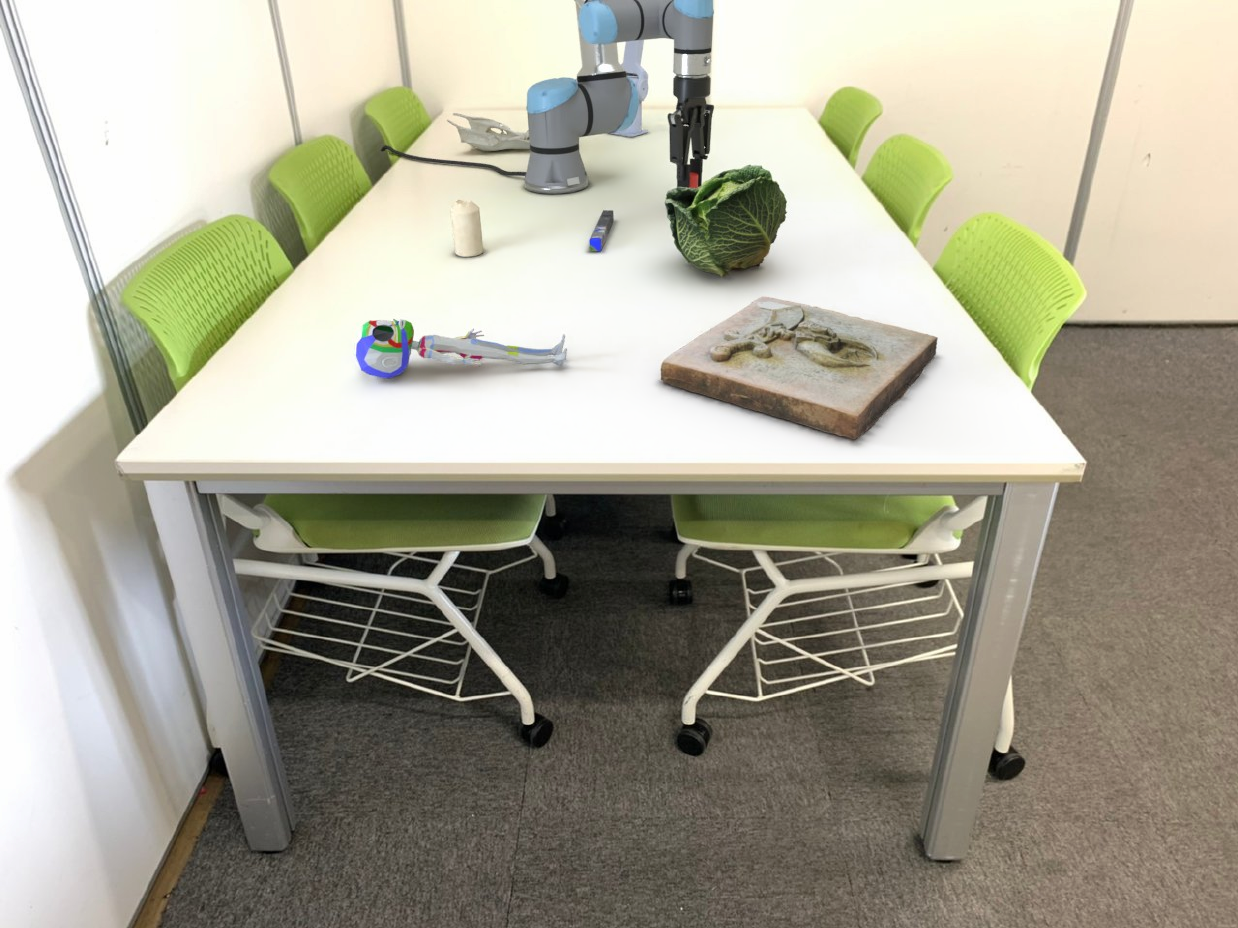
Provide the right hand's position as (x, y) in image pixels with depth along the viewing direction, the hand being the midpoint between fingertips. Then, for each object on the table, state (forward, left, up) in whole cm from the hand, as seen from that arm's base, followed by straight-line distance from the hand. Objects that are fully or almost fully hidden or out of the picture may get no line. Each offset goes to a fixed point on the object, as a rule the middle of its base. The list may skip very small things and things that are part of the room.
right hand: (596, 111), depth 243 cm
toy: (+73, -117, -9) cm, 139 cm away
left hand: (+56, -36, -5) cm, 66 cm away
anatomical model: (-21, -18, -9) cm, 30 cm away
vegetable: (+81, -59, -9) cm, 101 cm away
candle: (+36, -82, -9) cm, 90 cm away
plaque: (+113, -88, -9) cm, 143 cm away
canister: (+56, -36, -5) cm, 66 cm away
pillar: (+50, -58, -9) cm, 78 cm away
